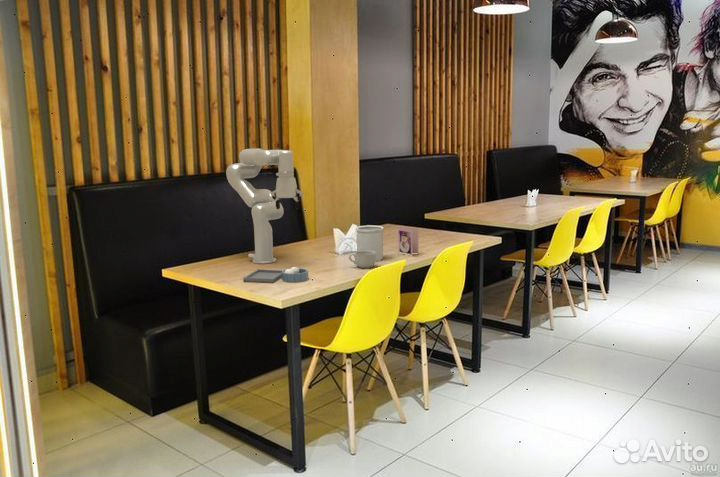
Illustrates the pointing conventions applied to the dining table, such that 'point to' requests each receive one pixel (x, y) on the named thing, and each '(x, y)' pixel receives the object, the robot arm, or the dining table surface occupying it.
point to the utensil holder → (370, 239)
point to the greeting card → (408, 240)
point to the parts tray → (263, 276)
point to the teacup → (364, 258)
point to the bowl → (295, 276)
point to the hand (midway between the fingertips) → (287, 209)
